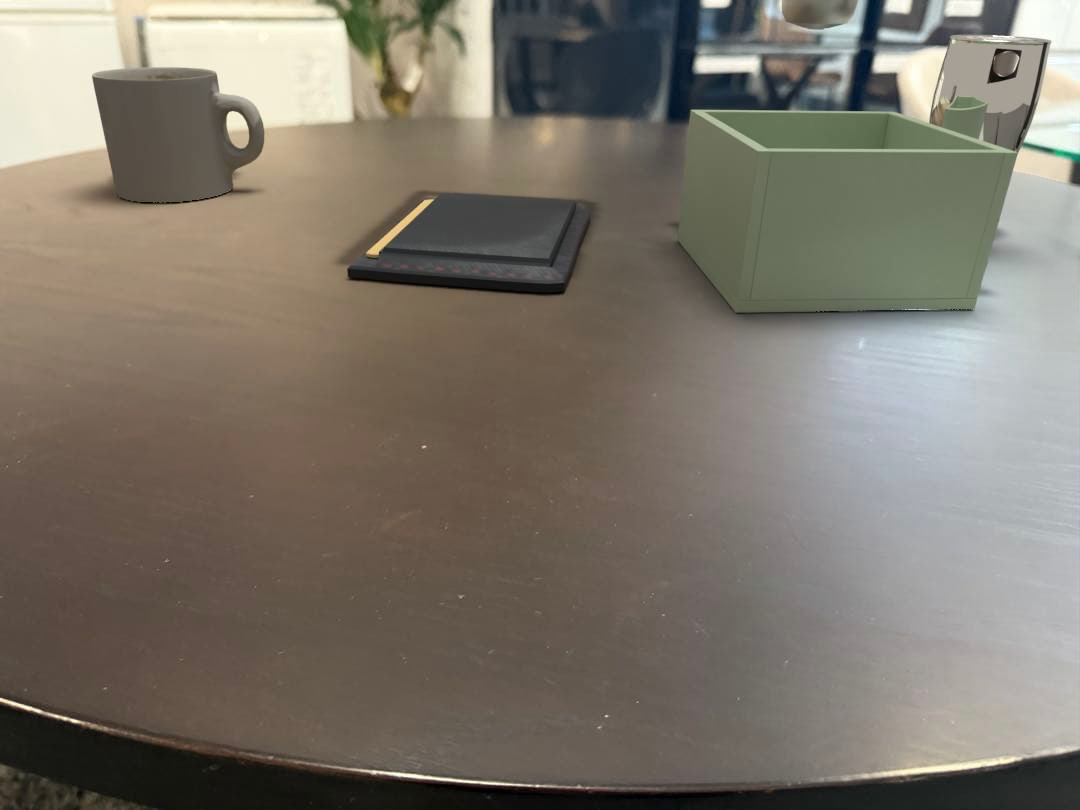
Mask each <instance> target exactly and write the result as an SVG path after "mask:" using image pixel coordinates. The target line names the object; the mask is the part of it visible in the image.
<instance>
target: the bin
mask: <svg viewBox="0 0 1080 810" xmlns="http://www.w3.org/2000/svg"><path fill="white" fill-rule="evenodd" d="M1017 154H1018V155H1019V153H1017V152H1015V151H1012V150H1009V149H1006V148H1003V147H1000V146H997V145H994V144H991V143H988V142H985V141H982V140H979V139H976V138H973V137H969V136H966V135H963V134H960V133H957V132H954V131H951V130H948V129H945V128H942V127H939V126H936V125H933V124H930V123H929V122H927V121H925V120H921V119H918V118H915V117H911V116H909V115H906V114H903V113H901V112H900V113H899V112H897V111H870V110H869V111H868V110H865V111H863V110H861V111H859V110H857V111H856V110H854V111H853V110H768V109H767V110H760V109H759V110H758V109H757V110H755V109H752V110H751V109H749V110H748V109H690V112H689V122H688V132H687V141H686V153H685V162H684V170H683V171H684V173H683V181H682V182H683V183H682V191H681V200H680V201H681V202H680V211H679V212H680V213H679V223H678V232H677V242H678V243H679V244H680V245H681V246H682V248H683V250H684V251H685V252H686V253H687V254H688V255H689V256H690V258H691V259H692V260H693V262H694V263H695V264H696V266H698V268H699V269H700V270H701V271H702V272H703V274H704V275H705V276H706V278H707V279H708V280H709V282H710V283H711V284H712V285H713V286H714V287H715V289H716V290H717V292H718V293H719V294H720V295H721V296H722V298H723V299H724V300H725V301H726V303H727V304H728V305H729V307H731V309H732V310H733V311H734V312H735V313H736V314H739V313H742V314H743V313H744V314H745V313H746V314H749V313H750V314H751V313H823V312H824V311H827V313H828V311H839V312H866V311H865V310H892V309H893V310H902V309H903V310H905V309H907V310H908V309H917V310H918V309H932V310H931V311H934V310H933V309H937V310H936V311H945V310H944V309H948V310H947V311H963V310H962V309H966V310H965V311H974V310H975V309H976V305H977V302H978V297H979V295H980V294H979V293H980V290H981V286H982V283H983V279H984V275H985V272H986V268H987V265H988V262H989V257H990V254H991V250H992V247H993V244H994V241H995V236H996V233H997V230H998V227H999V226H998V225H999V222H1000V218H1001V214H1002V213H1003V207H1004V204H1005V201H1006V197H1007V195H1008V190H1009V186H1010V184H1011V180H1012V175H1013V172H1014V168H1015V165H1016V161H1017V158H1018V155H1017ZM939 309H941V310H939ZM942 309H943V310H942ZM950 309H952V310H950ZM953 309H955V310H953ZM956 309H957V310H956ZM959 309H961V310H959ZM967 309H969V310H967ZM970 309H971V310H970ZM973 309H974V310H973ZM858 310H860V311H858ZM862 310H864V311H862ZM816 311H817V312H816ZM820 311H822V312H820ZM824 313H825V312H824Z"/></svg>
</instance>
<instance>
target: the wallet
mask: <svg viewBox="0 0 1080 810" xmlns="http://www.w3.org/2000/svg"><path fill="white" fill-rule="evenodd" d="M590 223H591V210H590V209H589V208H586V207H584V206H582V205H581V204H580V203H578V202H577V201H575V200H572V199H563V198H562V199H561V198H549V197H548V198H547V197H529V196H528V197H527V196H512V195H494V194H493V195H492V194H479V193H478V194H476V193H458V192H456V193H455V192H453V193H448V192H447V193H446V192H445V193H444V192H441V193H440V194H439V195H437V196H436V197H435V198H433V197H431V198H430V197H424V198H423V199H422V200H421V201H418V202H417V204H416V205H415V206H414V207H413V208H412V209H411V210H410V211H409V212H408V213H406V214H405V215H404V217H402V218H401V219H400V220H398V222H397V223H396V224H394V225H393V226H392V227H391V228H390V229H389V230H388V231H387V232H385V234H383V235H382V236H381V237H380V238H379V239H377V241H375V242H374V244H372V245H371V246H370V247H369V248H367V250H366V251H365V252H364V253H362V254H361V255H360V256H359V257H357V259H356V260H354V261H353V262H352V263H351V264H350V265H349V266H348V267H347V268H346V271H347V278H349V279H358V280H372V281H373V280H374V281H381V282H390V283H391V282H392V283H401V284H402V283H403V284H417V285H428V286H439V287H441V286H443V287H455V288H467V289H481V290H482V289H483V290H495V291H509V292H522V293H537V294H538V293H539V294H540V293H541V294H555V293H563V292H565V291H566V289H567V287H568V284H569V283H570V280H571V277H572V274H573V270H574V267H575V264H576V260H577V257H578V253H579V250H580V247H581V245H582V242H583V240H584V238H585V235H586V232H587V231H588V228H589V225H590Z"/></svg>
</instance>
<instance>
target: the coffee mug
mask: <svg viewBox="0 0 1080 810" xmlns="http://www.w3.org/2000/svg"><path fill="white" fill-rule="evenodd" d="M91 79H92V84H93V89H94V94H95V98H96V104H97V108H98V113H99V117H100V122H101V127H102V132H103V136H104V141H105V142H104V143H105V145H106V150H107V156H108V159H109V161H108V162H109V164H110V169H111V174H112V175H111V176H112V179H113V184H114V188H115V193H116V196H117V195H118V196H119V197H118V196H117V197H118V198H120V197H121V198H124V199H126V200H125V201H128V200H132V201H131V202H133V201H139V202H138V203H140V202H153V203H152V204H167V203H166V202H170V203H169V204H172V203H171V202H180V203H184V202H183V201H190V202H193V201H192V200H198V199H204V198H209V199H211V198H210V197H214V196H217V197H219V196H218V195H220V194H223V193H225V192H227V191H229V190H230V189H232V187H233V188H234V182H233V181H234V180H233V174H234V172H235V171H236V170H237V169H240V168H243V167H245V166H247V165H249V164H251V163H253V162H254V161H255V160H257V159H258V158H259V157H260V156H261V154H262V152H263V148H264V145H265V126H264V122H263V119H262V116H261V113H260V111H259V109H258V107H257V106H256V105H255V104H254V103H253V102H252V101H251V100H249V99H247V98H245V97H244V96H239V95H236V94H225V93H221V92H220V85H219V79H218V73H217V71H215V70H212V69H208V68H207V69H206V68H199V67H179V66H178V67H176V66H175V67H174V66H171V67H170V66H154V67H153V66H152V67H151V66H150V67H129V68H117V69H107V70H101V71H96V72H93V73H92V74H91ZM231 112H236V113H238V114H239V115H240V116H242V117H243V119H244V121H245V122H246V126H247V128H248V142H247V145H246V146H245V147H243V148H242V147H241V148H239V147H237V146H236V145H235V144H234V143H233V142H232V140H231V138H230V135H229V131H228V123H227V121H228V114H229V113H231ZM232 190H233V189H232ZM223 195H224V194H223ZM121 198H120V199H121ZM214 198H215V197H214ZM124 199H123V200H124ZM204 200H205V199H204ZM155 202H156V203H155ZM157 202H159V203H157ZM162 202H164V203H162Z"/></svg>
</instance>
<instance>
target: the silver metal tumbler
mask: <svg viewBox="0 0 1080 810" xmlns="http://www.w3.org/2000/svg"><path fill="white" fill-rule="evenodd" d="M1052 43H1053V42H1052V40H1051V39H1047V38H1039V37H1029V36H1018V35H1017V36H1015V35H998V34H997V35H996V34H995V35H994V34H953V35H951V36H950V37H949V42H948V45H947V48H946V52H945V55H944V58H943V60H942V65H941V67H940V71H939V75H938V77H937V81H936V84H935V89H934V93H933V97H932V103H931V107H930V113H929V119H928V120H929V121H928V123H930V124H933V125H936V126H939V127H942V128H945V129H948V130H951V131H954V132H957V133H960V134H963V135H966V136H969V137H973V138H976V139H979V140H982V141H985V142H988V143H991V144H994V145H997V146H1000V147H1003V148H1006V149H1009V150H1012V151H1015V152H1017V153H1018V154H1017V156H1018V155H1019V153H1020V151H1021V149H1022V146H1023V144H1024V142H1025V140H1026V137H1027V135H1028V133H1029V130H1030V128H1031V125H1032V123H1033V120H1034V117H1035V114H1036V110H1037V107H1038V104H1039V99H1040V96H1041V91H1042V88H1043V83H1044V80H1045V74H1046V69H1047V63H1048V58H1049V53H1050V48H1051V44H1052Z"/></svg>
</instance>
